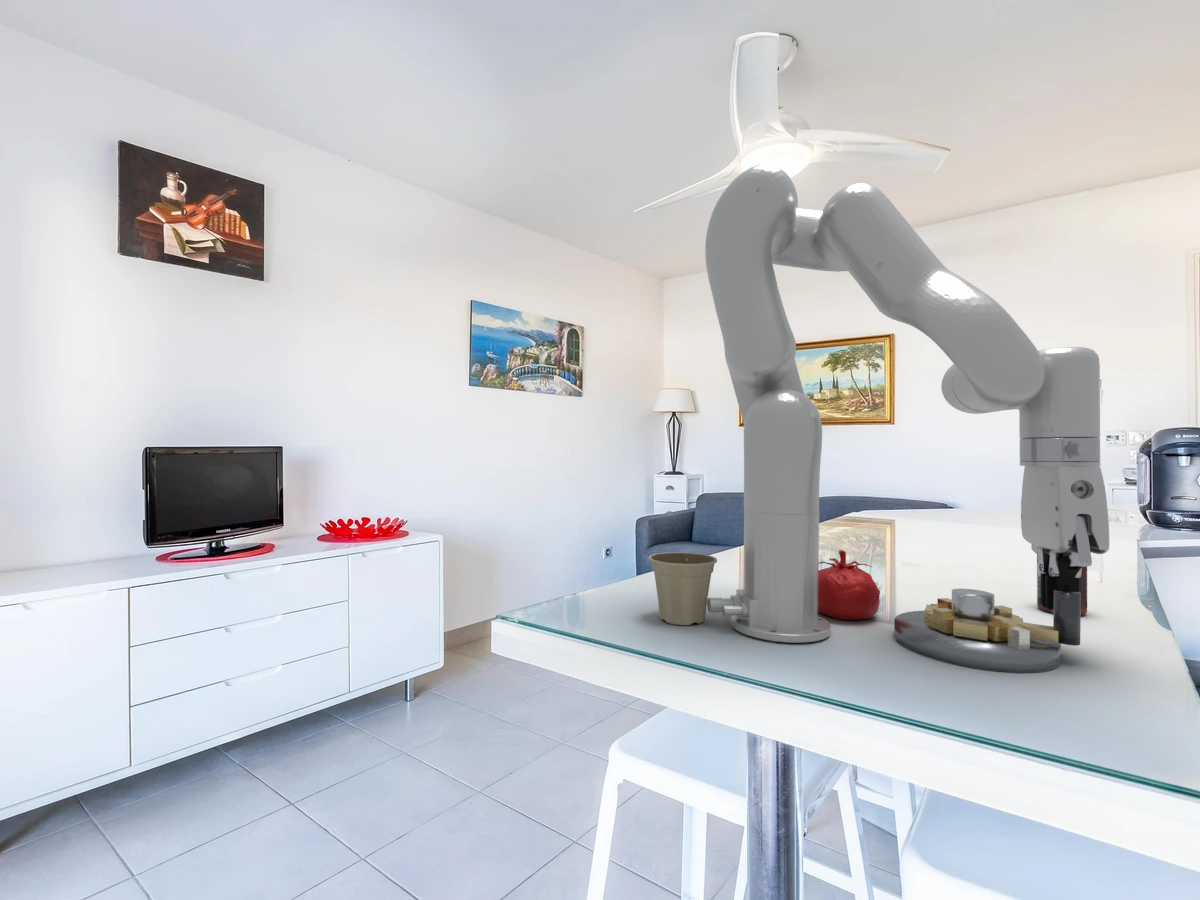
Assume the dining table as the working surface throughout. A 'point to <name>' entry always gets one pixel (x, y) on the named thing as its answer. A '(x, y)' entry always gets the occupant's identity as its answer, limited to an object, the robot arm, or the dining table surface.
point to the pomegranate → (847, 591)
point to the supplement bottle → (1081, 589)
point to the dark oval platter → (977, 653)
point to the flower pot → (682, 585)
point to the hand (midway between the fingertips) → (1059, 608)
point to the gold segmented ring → (1012, 621)
